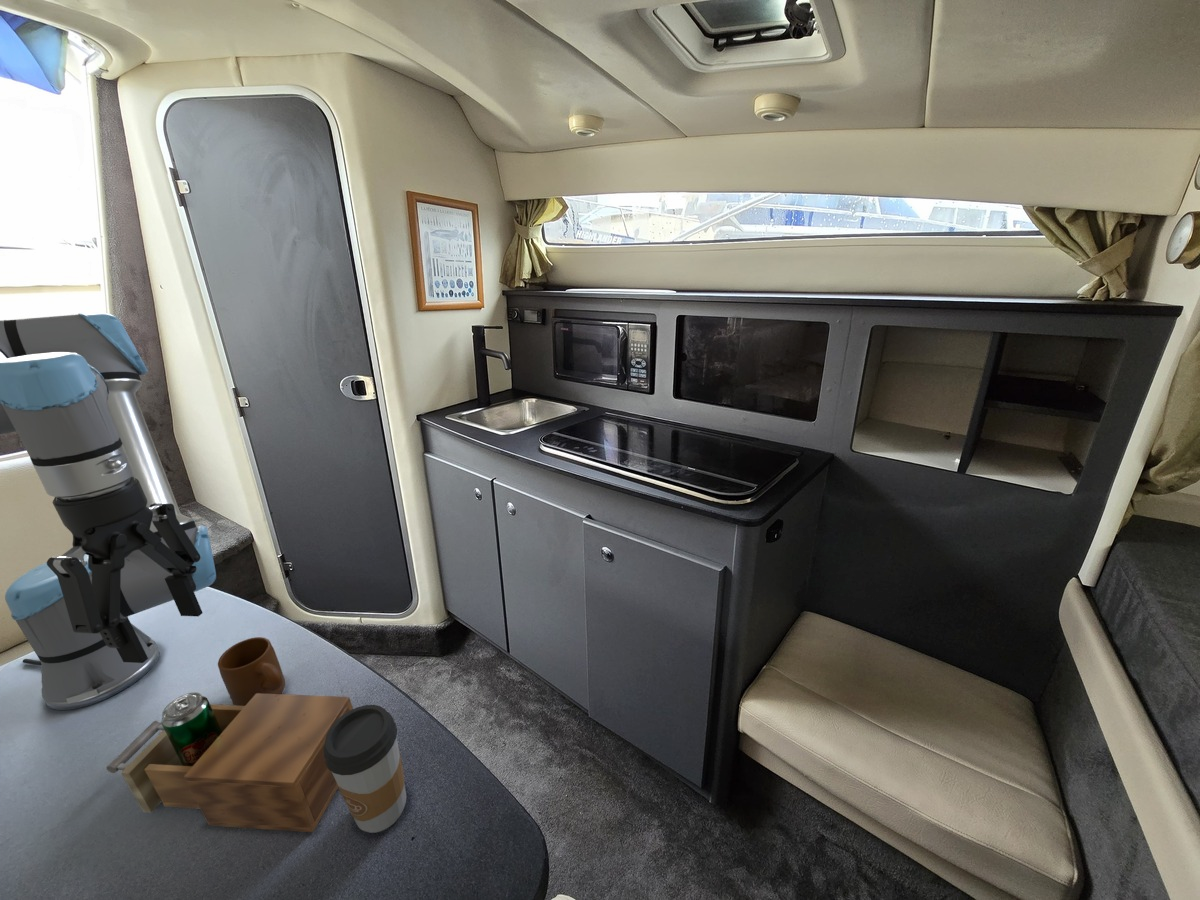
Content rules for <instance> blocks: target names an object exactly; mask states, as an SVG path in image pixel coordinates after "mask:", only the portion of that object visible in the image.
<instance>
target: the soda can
mask: <svg viewBox="0 0 1200 900" xmlns="http://www.w3.org/2000/svg"><path fill="white" fill-rule="evenodd" d="M210 704H211V703H210V701H209V698H208V697H206V696H204V695H202V694H201V693H199V692H188V693H186V694H185V693H184V694H183V695H180V696H178V697H176V698H175V699H174V700H172V701H171V702H169V703H168V704H167V705H166V706H165V707H164V709H163V710H162V713H161V717H162V718H161V721H160V723H161V724H162V726H163V728H164V730H165V732H166V734H167V736H168V738H169V740H170V742H171V744H172V746H173V748H174V750H175V752H176V754H177V756H178V758H179V760H180V761H181V763H182V765H183V766H193V765H194V764H195V763H196V762H197V761H198V760H199V759H200V757H201V756H202V755H203V754H204V753H205V752H206V751H207V749H208V748H209V747H210V746H211V745H212V744H213V742H214V741H215V740H216V739H217V738H218V737H219V736H220V734H221V733H222V730H221V728H220V725H219V723H218V721H217V719H216V717H215V714H214V712H213V710H212V708H211V705H212V704H211V705H210Z"/></svg>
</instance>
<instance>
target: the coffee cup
mask: <svg viewBox="0 0 1200 900" xmlns="http://www.w3.org/2000/svg"><path fill="white" fill-rule="evenodd" d="M324 758H325V764H326V766H327V767H328V769H329V770H330V771H331V772H332V774H333V776H334V778H335V780H336V782H337V786H338V791H339V792H340V795H341V797H342V798H343V800H344V803H345V805H346V807H347V810H349V813H350V815H351V816H352V817H353V819H354V822H355V823H356V826H357V828H359V829H360V830H361V831H363V832H366V833H370V834H373V833H376V834H377V833H380V832H383V831H385V830H387V829H388V828H390V827H391V826H392V825H394V824H395V823H396V822H397V821H398V819H399V818H400V816H401V815H402V813H403V812H404V809H405V806H406V804H407V791H406V785H405V775H404V769H403V768H404V767H403V762H402V756H401V751H400V747H399V743H398V727H397V723H396V722H395V720H394V717H393V716H392V714H391V713H390V712H389V711H388V710H386V709H385V708H384V707H382V706H381V705H376V704H364V705H360V706H357V707H355V708H353V710H350V711H349V712H347V713H345V714H344V715H342V716H341V717H340V718H339V719H338V720H337V721H336V722H335V723H334V724H333V725H332V726H331V728H330V730H329V731H328V733H327V736H326V740H325V745H324Z"/></svg>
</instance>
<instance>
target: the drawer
mask: <svg viewBox="0 0 1200 900" xmlns="http://www.w3.org/2000/svg"><path fill="white" fill-rule="evenodd" d="M210 705H211V708H212V710H213V712H214V714H215V717H216V719H217V721H218V723H219V725H220V728H221V730H222V732H223V731H224V730H225V729H226V728H227V726H228V725H229V724H230V723H231V722H232V721H233V720H234V718H235V717H236V716H237V715H238V714H239V713H240V711H241V710H242V709H243V708H244V707H245V706H234V704H233V705H232V704H231V705H230V704H211V703H210ZM158 731H160V733H159V734H158V735H157V736H156V737H155V738H154V739H153V740H152V741H151V742H149V744H148V745H146V744H147V743H148V741H150V739H152V738H153V737H154V736H155V735H156V734H157V732H158ZM144 745H146V747H145V748H144V749H143V750H142V751H141V752H139V754H138V755H137V756H135V754H137V753H138V751H139V750H141V748H142V747H143V746H144ZM134 756H135V758H134V759H133V760H132V761H131V762H130V763H128V762H129V760H130V759H131V758H132V757H134ZM192 767H193V766H183V765H182V763H181V761H180V760H179V758H178V756H177V754H176V752H175V750H174V748H173V746H172V744H171V742H170V740H169V738H168V736H167V734H166V732H165V730H164V728H163V726H162V724H161V721H158V720H154V721H153V722H152V723H150V724H149V725H148V726H147V727H146V728H145V729H144V730H143V731H142V732H141V733H140V734H139V735H138V736H137V737H136V738H135V739H134V740H133V741H132V742H131V743H129V745H128V746H127V747H126V748H125V749H123V751H121V752H120V754H118V755H117V756H116V757H115V758H114V759H113V760H112V761H111V762H110V763H109V764H107V766H106V770H107V772H109V773H111V774H117V772H118V771H121V772H120V775H121V776H122V778H123V779H124V781H125V783H126V785H127V786H128V788H129V789H130V791H131V793H132V795H133V797H134V798H135V800H136V802H137V803H138V805H139V807H140V808H141V810H142V812H143V813H148V814H149V813H151V814H152V813H153V812H154V811H155V809H157V807H158V806H159V805H160V804H161V803H162V805H163V806H164V807H167V808H185V809H199V810H201V809H200V807H199V805H198V803H197V801H196V799H195V797H194V796H193V794H192V792H191V790H190V788H189V786H188V784H187V782H186V780H185V778H184V776H185V775H186V774H187V772H188V771H189V770H190V769H191V768H192Z"/></svg>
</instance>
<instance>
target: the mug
mask: <svg viewBox="0 0 1200 900" xmlns="http://www.w3.org/2000/svg"><path fill="white" fill-rule="evenodd" d="M217 667H218V670H219V674H220V678H221V680H222V681H223V684H224V686H225V689H226V691H227V693H228V695H229V697H230V699H231V702H232V704H233V705H234V706H246V705H247V703H248V702H249V701H250V700H251V699H252V698H253V697H254V695H255V694H256V693H261V694H283V692H284V689H285V686H286V680H285V677H284V673H283V670H282V667H281V665H280V662H279V659H278V656H277V653H276V650H275V649H274V646H273V645H272V643H271V641H270V639H268V638H266V637H263V636H255V637H251V638H247V639H243V640H241V641H239V642H237V643H235V644H233V645H232V646H230V647H228V648H227V649H226V650H225V651H224V652H223V653H222V654H221V655H220V656H219V658H218V660H217Z"/></svg>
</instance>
